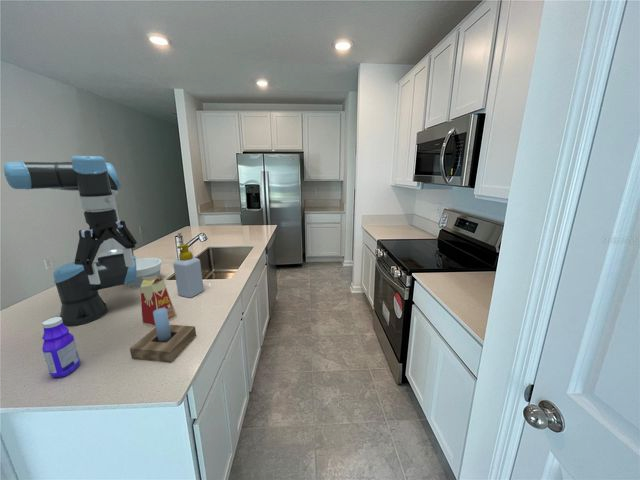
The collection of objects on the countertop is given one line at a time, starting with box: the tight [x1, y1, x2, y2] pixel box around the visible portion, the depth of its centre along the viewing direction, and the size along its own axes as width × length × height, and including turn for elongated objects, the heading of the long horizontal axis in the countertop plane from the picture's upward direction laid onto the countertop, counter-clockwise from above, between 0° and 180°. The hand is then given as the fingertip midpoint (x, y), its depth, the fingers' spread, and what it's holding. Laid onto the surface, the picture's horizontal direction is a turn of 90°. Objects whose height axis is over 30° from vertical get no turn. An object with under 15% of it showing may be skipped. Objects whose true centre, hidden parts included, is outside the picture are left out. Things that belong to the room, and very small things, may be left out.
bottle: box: [41, 316, 81, 378], centre depth 79 cm, size 7×6×17 cm
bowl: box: [127, 257, 162, 289], centre depth 142 cm, size 19×19×11 cm
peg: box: [153, 308, 172, 343], centre depth 91 cm, size 4×4×14 cm
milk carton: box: [140, 276, 178, 328], centre depth 106 cm, size 9×9×20 cm
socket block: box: [129, 324, 197, 364], centre depth 92 cm, size 14×14×4 cm
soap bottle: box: [172, 243, 205, 298], centre depth 128 cm, size 9×9×25 cm
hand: (114, 274), depth 86 cm, fingers open, 13 cm apart
